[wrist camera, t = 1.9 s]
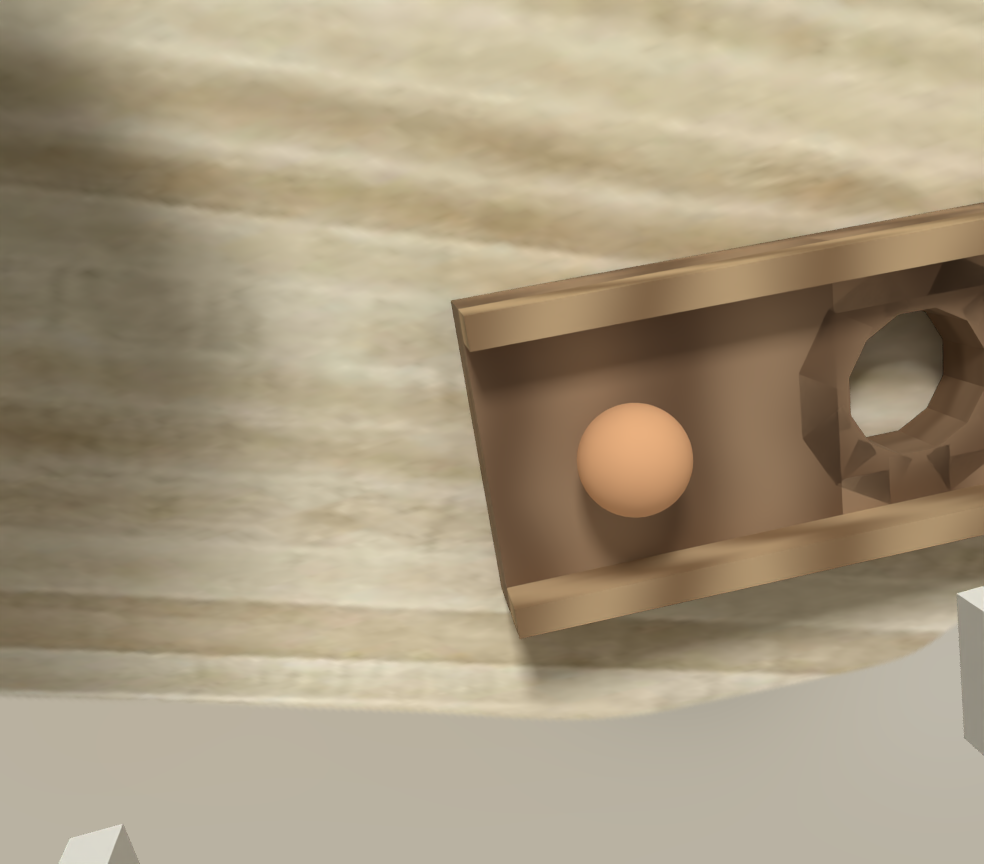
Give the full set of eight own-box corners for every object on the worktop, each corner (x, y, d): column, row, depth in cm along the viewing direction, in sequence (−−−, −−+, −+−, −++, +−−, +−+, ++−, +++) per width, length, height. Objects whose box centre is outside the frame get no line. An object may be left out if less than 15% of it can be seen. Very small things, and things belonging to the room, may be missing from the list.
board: (501, 587, 35) (519, 638, 31) (450, 300, 32) (464, 316, 28) (1032, 471, 37) (1115, 505, 33) (1039, 192, 34) (1131, 191, 30)
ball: (572, 504, 32) (601, 546, 28) (558, 403, 31) (585, 432, 27) (674, 483, 32) (716, 521, 28) (663, 382, 31) (706, 408, 27)
